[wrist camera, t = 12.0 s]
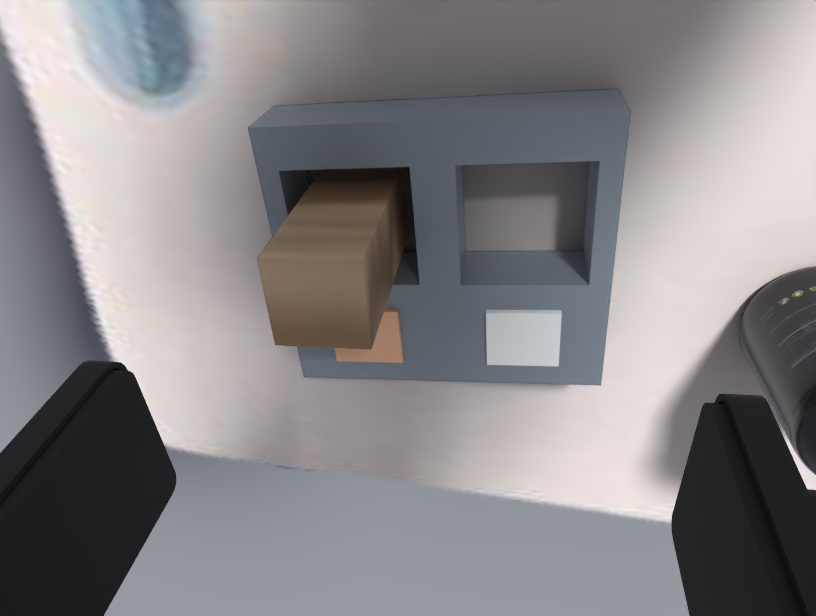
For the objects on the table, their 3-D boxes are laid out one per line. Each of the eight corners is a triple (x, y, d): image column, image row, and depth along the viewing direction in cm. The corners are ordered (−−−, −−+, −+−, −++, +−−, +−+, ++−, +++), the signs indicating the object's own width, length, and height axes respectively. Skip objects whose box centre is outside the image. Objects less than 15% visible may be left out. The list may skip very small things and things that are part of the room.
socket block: (273, 105, 30) (245, 129, 27) (618, 88, 27) (631, 113, 24) (320, 340, 37) (302, 380, 34) (593, 345, 35) (601, 389, 32)
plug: (325, 164, 31) (257, 258, 23) (403, 164, 31) (362, 261, 22) (335, 235, 33) (275, 345, 25) (408, 236, 33) (371, 349, 25)
